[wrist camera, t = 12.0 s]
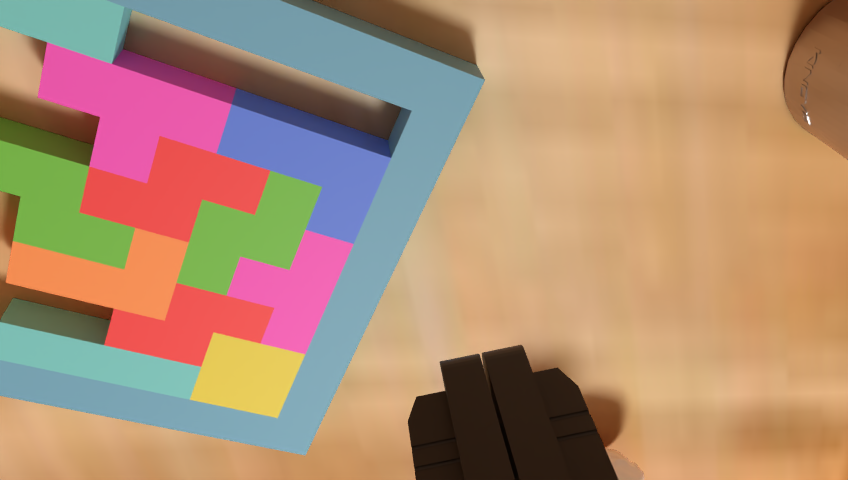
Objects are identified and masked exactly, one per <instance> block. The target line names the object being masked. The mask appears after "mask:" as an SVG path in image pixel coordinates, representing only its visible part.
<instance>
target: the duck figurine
mask: <svg viewBox="0 0 848 480" xmlns="http://www.w3.org/2000/svg"><path fill="white" fill-rule="evenodd" d="M605 449H606V452H607V454H608V456H609V459H610V461H611V463H612V466H613V468H614V470H615V473H616V475H617V477H618V480H644V473H643V471H641V470H640V468H639V467H638V465H637V464H635V463H633V462H631V461H629V460H628V458H626V457H625V456H623V455H622V454H621V453H620V452H618V451H616V450H614V449H608V448H605Z"/></svg>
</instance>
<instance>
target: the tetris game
mask: <svg viewBox="0 0 848 480" xmlns="http://www.w3.org/2000/svg"><path fill="white" fill-rule="evenodd" d="M132 10H135V11H137V12H140V13H143V14H146V15H148V16H151V17H154V18H157V19H159V20H162V21H165V22H168V23H170V24H173V25H176V26H179V27H181V28H184V29H187V30H190V31H193V32H195V33H198V34H201V35H204V36H206V37H209V38H212V39H215V40H217V41H220V42H223V43H226V44H228V45H231V46H234V47H237V48H239V49H242V50H245V51H248V52H251V53H253V54H256V55H259V56H262V57H264V58H267V59H270V60H273V61H275V62H278V63H281V64H284V65H286V66H289V67H292V68H295V69H298V70H300V71H303V72H306V73H309V74H311V75H314V76H317V77H320V78H322V79H325V80H328V81H331V82H333V83H336V84H339V85H342V86H344V87H347V88H350V89H353V90H356V91H358V92H361V93H364V94H367V95H369V96H372V97H375V98H378V99H380V100H383V101H386V102H389V103H391V104H394V105H397V106H400V107H402V109H401V111H400V113H399V116H398V118H397V120H396V123H395V125H394V127H393V130H392V132H391V134H390V137H389V139H388V140H385V139H383V138H380V137H377V136H374V135H371V134H368V133H365V132H362V131H359V130H356V129H354V128H351V127H348V126H345V125H342V124H339V123H336V122H333V121H330V120H327V119H324V118H322V117H319V116H316V115H313V114H310V113H307V112H304V111H301V110H298V109H295V108H293V107H290V106H287V105H284V104H281V103H278V102H275V101H272V100H269V99H266V98H264V97H261V96H258V95H255V94H252V93H249V92H246V91H243V90H240V89H237V88H234V87H232V86H229V85H226V84H223V83H220V82H217V81H214V80H211V79H208V78H205V77H203V76H200V75H197V74H194V73H191V72H188V71H185V70H182V69H179V68H176V67H174V66H171V65H168V64H165V63H162V62H159V61H156V60H153V59H150V58H147V57H144V56H142V55H139V54H136V53H133V52H130V51H127V50H124V49H123V47H124V43H125V38H126V34H127V29H128V25H129V20H130V16H131V12H132ZM0 26H1V27H4V28H6V29H9V30H12V31H15V32H18V33H21V34H24V35H27V36H30V37H33V38H36V39H39V40H42V41H45V42H47V46H46V52H45V58H44V64H43V69H42V75H41V81H40V87H39V93H38V98H41V99H44V100H47V101H51V102H54V103H57V104H60V105H63V106H66V107H70V108H73V109H76V110H79V111H82V112H86V113H89V114H92V115H95V116H98V117H100V120H99V125H98V129H97V134H96V138H95V143H94V145H91V144H88V143H84V142H81V141H78V140H75V139H71V138H68V137H65V136H61V135H58V134H55V133H51V132H48V131H45V130H41V129H38V128H35V127H31V126H28V125H25V124H22V123H18V122H15V121H12V120H8V119H5V118H2V117H0V191H2V192H6V193H10V194H13V195H17V196H21V197H20V202H19V208H18V214H17V220H16V225H15V231H14V237H13V243H12V249H11V254H10V260H9V266H8V272H7V278H6V283H9V284H13V285H17V286H22V287H26V288H30V289H34V290H38V291H42V292H47V293H51V294H55V295H59V296H63V297H68V298H72V299H76V300H80V301H84V302H88V303H93V304H97V305H101V306H105V307H109V308H114V310H113V314H112V318H111V321H110V320H106V319H102V318H98V317H93V316H89V315H85V314H80V313H76V312H72V311H68V310H63V309H59V308H55V307H50V306H46V305H42V304H38V303H33V302H29V301H25V300H20V299H16V298H13V299H12V301H11V302H10V304H9V306H8V307H7V309H6V311H5V312H4V314H3V316H2V317H1V319H0V396H4V397H9V398H14V399H19V400H25V401H30V402H35V403H40V404H45V405H50V406H55V407H60V408H66V409H71V410H76V411H81V412H86V413H91V414H96V415H101V416H107V417H112V418H117V419H122V420H127V421H132V422H137V423H142V424H148V425H153V426H158V427H163V428H168V429H173V430H178V431H183V432H189V433H194V434H199V435H204V436H209V437H214V438H219V439H224V440H230V441H235V442H240V443H245V444H250V445H255V446H260V447H265V448H270V449H276V450H281V451H286V452H291V453H296V454H301V455H306V453H307V451H308V449H309V447H310V445H311V443H312V441H313V439H314V436H315V434H316V432H317V430H318V428H319V426H320V424H321V422H322V420H323V418H324V416H325V413H326V411H327V409H328V407H329V405H330V403H331V401H332V399H333V397H334V395H335V393H336V390H337V388H338V386H339V384H340V382H341V380H342V378H343V376H344V374H345V372H346V370H347V367H348V365H349V363H350V361H351V359H352V357H353V355H354V353H355V351H356V349H357V347H358V344H359V342H360V340H361V338H362V336H363V334H364V332H365V330H366V328H367V326H368V324H369V321H370V319H371V317H372V315H373V313H374V311H375V309H376V307H377V305H378V303H379V301H380V298H381V296H382V294H383V292H384V290H385V288H386V286H387V284H388V282H389V280H390V278H391V275H392V273H393V271H394V269H395V267H396V265H397V263H398V261H399V259H400V257H401V255H402V252H403V250H404V248H405V246H406V244H407V242H408V240H409V238H410V236H411V234H412V231H413V229H414V227H415V225H416V223H417V221H418V219H419V217H420V215H421V213H422V211H423V208H424V206H425V204H426V202H427V200H428V198H429V196H430V194H431V192H432V190H433V188H434V185H435V183H436V181H437V179H438V177H439V175H440V173H441V171H442V169H443V167H444V165H445V162H446V160H447V158H448V156H449V154H450V152H451V150H452V148H453V146H454V144H455V142H456V139H457V137H458V135H459V133H460V131H461V129H462V127H463V125H464V123H465V121H466V119H467V116H468V114H469V112H470V110H471V108H472V106H473V104H474V102H475V100H476V98H477V96H478V93H479V91H480V89H481V87H482V85H483V83H484V81H485V79H484V77H483V76H482V74H481V72H480V70H479V68H478V67H477V65H475V64H472V63H470V62H467V61H465V60H462V59H460V58H457V57H455V56H452V55H450V54H447V53H444V52H442V51H439V50H437V49H434V48H432V47H429V46H427V45H424V44H422V43H419V42H417V41H414V40H412V39H409V38H406V37H404V36H401V35H399V34H396V33H394V32H391V31H389V30H386V29H384V28H381V27H379V26H376V25H373V24H371V23H368V22H366V21H363V20H361V19H358V18H356V17H353V16H351V15H348V14H346V13H343V12H341V11H338V10H335V9H333V8H330V7H328V6H325V5H323V4H320V3H318V2H315V1H313V0H0Z"/></svg>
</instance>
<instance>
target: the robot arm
mask: <svg viewBox="0 0 848 480" xmlns="http://www.w3.org/2000/svg"><path fill="white" fill-rule="evenodd" d="M784 94H785V98H786V102H787V106H788V109H789V111H790V113H791V114H792V116H793V118H794V120H795V121H797V122H798V123H799V124H800V125H801V126H802V127H803V128H804V129H805V130H807V131H808V132H809V133H811V134H812V135H814V136H815V137H817V138H818V139H819V140H821V141H822V142H824V143H825V144H826V145H828V146H829V147H831V148H832V149H833V150H835V151H836V152H838V153H839V154H841V155H842V156H843V157H844V158H846V159H847V160H848V0H832V1H831V2H830V3H829V4H827V5H826V6H825V7H824V8H823V9H822V10H820V11H819V12H818V14H817V15H816V16H815V17H814V18H813V19H812V21H811V22H810V23H809V24H808V25H807V26H806V28H805V29H804V31H803V33H802V34H801V36H800V37H799V39H798V40H797V42H796V44H795V46H794V48H793V51H792V53H791V56H790V58H789V60H788V64H787V69H786V73H785V81H784ZM482 360H483V365H482V361H481V358H480V355H479V354H475V355H470V356H465V357H460V358H455V359H450V360H445V361H440V366H441V371H442V376H443V381H444V387H445V391H442V392H438V393H433V394H428V395H423V396H418V397H416V400H415V402H414V405H413V408H412V411H411V414H410V417H409V419H408V426H409V433H410V440H411V447H412V454H413V462H414V468H415V476H416V480H618V477H617V475H616V473H615V470H614V468H613V466H612V463H611V461H610V459H609V456H608V454H607V452H606V449H605V447H604V445H603V443H602V440H601V438H600V436H599V434H598V433H597V429H596V426H595V424H594V422H593V419H592V417H591V415H590V414H589V411H588V408H587V406H586V403H585V401H584V399H583V396H582V394H581V392H580V389H579V387H578V385H576V384H575V383H574V382H573V381H572V380H571V379H570V378H569V377H567V376H566V375H565V374H564V373H563V372H562V371H561V370H560V369H558V368H554V369H549V370H544V371H539V372H534V373H533V372H532V369H531V367H530V364H529V361H528V358H527V356H526V353H525V350H524V348H523V346H522V345H518V346H513V347H508V348H503V349H498V350H493V351H488V352H484V353H482ZM483 367H484V368H483Z"/></svg>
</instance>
